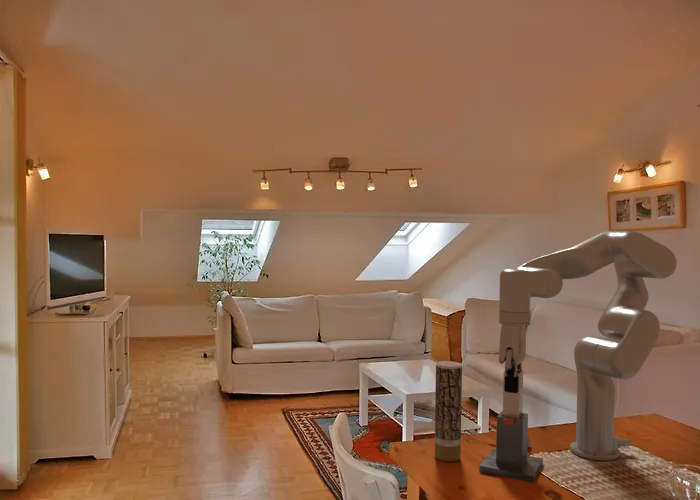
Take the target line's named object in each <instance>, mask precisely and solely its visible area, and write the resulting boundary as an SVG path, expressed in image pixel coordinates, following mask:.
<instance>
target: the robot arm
mask: <svg viewBox="0 0 700 500" xmlns="http://www.w3.org/2000/svg"><path fill="white" fill-rule="evenodd" d="M677 262H678V261H677V258H676V255H675V254H674V251H672V250H671V249H670V248H669V247H667V246H665V245H663V244H661V243H660V242H658V241H656V240H654V239H652V238H651V237H649V236H647V235H645V234H643V233H640V232H638V231H633V230H607V231H603V232H601V233H599V234H597V235H594V236H592V237H590V238H588V239H586V240H583V241H582V242H580V243H577V244H575V245H574V246H572V247H569V248H566V249H562V250H559V251H556V252H553V253H550V254H547V255H543V256H540V257H537V258H534V259H531V260H529V261H528V262H526V263H525V262H524V264H521V265H519V266H518V267H517V268H506V269H502V270H501V272H500V274H499V307H498V309H499V313H498V323H499V325H501V327H500V328H501V329H500V334H499V335H500V336H499V351H498V363H500V364H501V365H502V364H504V371H505V383H504V391H505V392H510V393H517V392H518V377H517V370H523V363H522V362H523V361H524V360H525V359H526V354H527V353H526V352H527V351H526V349H527V348H526V347H527V346H526V345H527V327H526V326H530V325H531V298H541V299H551V298H554V297H556V296H558V295H559V294H560V293H561V291H562V289H563V285H564V283H563V280H575V279H581V278H585V277H588V276H591V275H592V274H594V273H595V272H598V271H599V270H601V269H603V268H605V267H607V266H609V265H610V264H614V269H615V273H616V277H617V287H616V290H615V292H614V295H613V296H612V298H611V299H610V301H609V302H608V304H607V305H606V307H605V309H604V310H603V312H602V314H601V316H599V317H600V318H598V319H599V320H598V322H597V329H598V332H599V333H600V334H601V335H602V336H604V337H605V338H604V337H601V336H594V335H593V336H585V337H582V338H580V339H579V340H578V341H577V342H576V345H574V346H575V347H574V350H573V358H574V359H573V360H574V364H575V370H576V378H577V379H576V380H577V381H576V382H577V383H576V384H577V385H576V386H577V388H576V389H577V390H576V392H577V394H576V422H575V423H576V424H575V425H576V432H575V433H576V435H575V441H572V442H571V443H570V444H569V449H570V451H571V452H572V453H573V454H575V455H576V456H578V457H581V458H585V459H589V460H593V461H594V460H595V461H613V460H616V459H618V458H620V456H621V451H620V450H619V449H618V448H621V447H631V445H632V441H631V440H630V439H629V438H621V437H620V436H615V410H616V409H615V408H616V405H615V404H616V403H615V401H616V388H615V385H614V381H613V379H618V380H625V381H627V380H631V379H632V378H634V377H635V376H636V375H637V374H638V373H639V372H640V370H641V369H642V367H643V365H644V364H645V362H646V360H647V358H648V357H649V355H650V353H651V352H652V350H653V348H654V347H655V345H656V343H657V341H658V339H659V336H660V331H661V324H660V320H659V318H658V317H657V315H656V314H655V313H654V312H653V311H650V310H647V309H645V308H646V307H647V304H648V301H649V292H648V288H647V286H646V283H645V281H644V278H646V279H659V280H660V279H667V278H669V277H670V276H671V275H673V274H674V272H675V271H676V269H677ZM500 364H499V365H500Z"/></svg>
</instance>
